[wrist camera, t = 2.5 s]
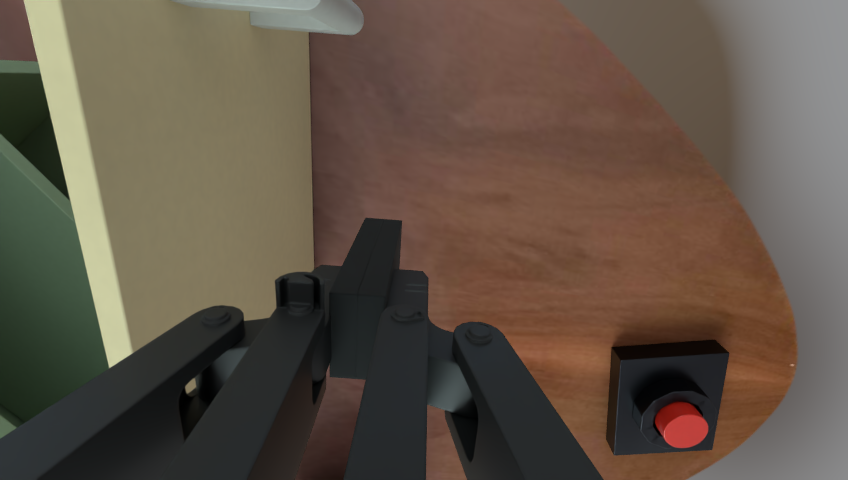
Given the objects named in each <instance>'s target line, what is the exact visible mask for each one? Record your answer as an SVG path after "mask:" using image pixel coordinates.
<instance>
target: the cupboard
mask: <svg viewBox="0 0 848 480" xmlns="http://www.w3.org/2000/svg"><path fill="white" fill-rule="evenodd" d="M107 369H109V365H108V361H107V356H106V352H105V348H104V343H103V339H102V335H101V330H100V326H99V322H98V317H97V313H96V309H95V305H94V300H93V296H92V292H91V287H90V283H89V279H88V274H87V270H86V266H85V262H84V257H83V253H82V249H81V244H80V240H79V236H78V231H77V227H76V223H75V219H74V214H73V210H72V206H71V201H70V197H69V193H68V188H67V184H66V180H65V176H64V171H63V167H62V163H61V158H60V154H59V150H58V145H57V141H56V137H55V133H54V128H53V124H52V120H51V115H50V111H49V107H48V102H47V98H46V94H45V89H44V85H43V81H42V77H41V72H40V68H39V64H38V62H33V61H12V60H0V438H2V437H4V436H5V435H7V434H8V433H10V432H11V431H13V430H14V429H16V428H17V427H19V426H21V425H22V424H24V423H25V422H27V421H28V420H30V419H31V418H33V417H35V416H36V415H38V414H39V413H41V412H42V411H44V410H45V409H47V408H48V407H50V406H52V405H53V404H55V403H56V402H58V401H59V400H61V399H62V398H64V397H66V396H67V395H69V394H70V393H72V392H73V391H75V390H76V389H78V388H79V387H81V386H83V385H84V384H86V383H87V382H89V381H90V380H92V379H93V378H95V377H97V376H98V375H100V374H101V373H103V372H104V371H106V370H107Z"/></svg>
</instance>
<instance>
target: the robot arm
mask: <svg viewBox="0 0 848 480" xmlns="http://www.w3.org/2000/svg"><path fill="white" fill-rule="evenodd" d="M401 228H402V221H401V220H387V219H374V218H365V220H364V222H363V224H362V226H361V228H360V230H359V232H358V234H357V236H356V238H355V241H354V243H353V245H352V247H351V249H350V251H349V253H348V255H347V257H346V259H345V261H344V263H343V265H342V266H330V265H321V266H319V267H318V268H316V269H314V270H313V271H312V272H293V273H287V274H285V275H282V276H280V277H278V278H277V279H276V280H275V291H276V309H275V310H274V312H273V313H272V315H271V316H270V317H269V318H264V319H256V320H247V321H244V313H243V312H242V311H241V310H240V309H239V308H236V307H233V306H225V305H219V306H218V305H217V306H212V307H209V308H206V309H202V310H200V311H198V312H196V313H194V314H193V315H191V316H190V317H188V318H186V319H185V320H183V321H182V322H180V323H179V324H177V325H176V326H174V327H172V328H171V329H169V330H168V331H166V332H165V333H163V334H162V335H160V336H159V337H157V338H155V339H154V340H152V341H151V342H149V343H148V344H146V345H145V346H143V347H141V348H140V349H138V350H137V351H135V352H134V353H132V354H131V355H129V356H128V357H126V358H124V359H123V360H121V361H120V362H118V363H117V364H115V365H114V366H112V367H110V368H109V369H107V370H106V371H104V372H103V373H101V374H100V375H98V376H97V377H95V378H93V379H92V380H90V381H89V382H87V383H86V384H84V385H83V386H81V387H79V388H78V389H76V390H75V391H73V392H72V393H70V394H69V395H67V396H66V397H64V398H62V399H61V400H59V401H58V402H56V403H55V404H53V405H52V406H50V407H48V408H47V409H45V410H44V411H42V412H41V413H39V414H38V415H36V416H35V417H33V418H31V419H30V420H28V421H27V422H25V423H24V424H22V425H21V426H19V427H17V428H16V429H14V430H13V431H11V432H10V433H8V434H7V435H5V436H4V437H2V438H0V480H295V477H296V475H297V472H298V469H299V466H300V463H301V460H302V457H303V454H304V451H305V448H306V445H307V442H308V439H309V436H310V434H311V431H312V428H313V425H314V422H315V419H316V416H317V413H318V410H319V407H320V404H321V401H322V398H323V396H324V393H325V390H326V371H327V369H328V366H329V363H330V377H338V378H352V379H366V382H365V386H364V391H363V395H362V400H361V404H360V409H359V413H358V417H357V422H356V426H355V431H354V435H353V440H352V444H351V448H350V453H349V457H348V462H347V466H346V471H345V475H344V479H343V480H426V437H427V404H428V405H431V406H434V407H437V408H440V409H443V410H445V419H446V421H447V424H448V427H449V430H450V433H451V435H452V438H453V441H454V444H455V447H456V450H457V452H458V455H459V458H460V461H461V464H462V466H463V469H464V472H465V475H466V478H467V480H603V478H602V477H601V475H600V474H599V472H598V471H597V469H596V468H595V467H594V465H593V464H592V462H591V461H590V459H589V458H588V456H587V455H586V454H585V452H584V451H583V449H582V448H581V446H580V445H579V443H578V442H577V440H576V439H575V438H574V436H573V435H572V433H571V432H570V430H569V429H568V427H567V426H566V425H565V423H564V422H563V420H562V419H561V417H560V416H559V414H558V413H557V412H556V410H555V409H554V407H553V406H552V404H551V403H550V401H549V400H548V399H547V397H546V396H545V394H544V393H543V391H542V390H541V388H540V387H539V385H538V384H537V383H536V381H535V380H534V378H533V377H532V375H531V374H530V372H529V371H528V370H527V368H526V367H525V365H524V364H523V362H522V361H521V359H520V358H519V357H518V355H517V354H516V352H515V351H514V349H513V348H512V346H511V345H510V343H509V342H508V341H507V339H506V338H505V336H504V335H503V334H502V333H501V332H500V331H499V330H498V329H497V328H495V327H493V326H491V325H489V324H486V323H482V322H468V323H463V324H461V325H459V326H457V327H456V329H455V330H454V333H453V332H449V331H446V330H443V329H440V328H439V327H437V326H435V325H434V324H433V323H431V321H430V320H429V317H428V277H427V276H426V275H425V273H424V272H423V271H414V270H400V269H399V264H400V246H401ZM194 378H195V383H196V388H194V389H193V390H192V391H191V392H189V393H186V389H185V386H186V385H187V384H188V383H189V382H190V381H191V380H192V379H194Z"/></svg>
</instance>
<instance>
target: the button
mask: <svg viewBox="0 0 848 480" xmlns="http://www.w3.org/2000/svg"><path fill="white" fill-rule="evenodd" d="M655 424H656V427H657V428H658V430H659V431H660V433H661V435H662V436H663V438H664V439H665V441H666V442H667V443H668V444H669V445H671V446H673V447H677V448H687V447H691V446H694V445H696V444H698V443H700V442H701V441H702V440H703V439H704V438H705V437H706V435H707V433H708V424H707V422H706V420H705V419H704V418H703V417H702V415H701V414H700V413H699V412H698V410H697V409H696V408H695V407H694V406H693V405H692V404H690V403H687V402H673V403H671V404H669V405H667V406H665V407H663V408H661V409H660V411H659V412H658V413H657V415H656V417H655Z"/></svg>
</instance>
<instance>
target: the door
mask: <svg viewBox="0 0 848 480" xmlns="http://www.w3.org/2000/svg"><path fill="white" fill-rule="evenodd" d="M24 3H25V8H26V12H27V16H28V21H29V25H30V29H31V34H32V38H33V42H34V46H35V51H36V55H37V59H38V64H39V68H40V72H41V77H42V81H43V85H44V89H45V94H46V98H47V102H48V107H49V111H50V115H51V120H52V124H53V128H54V133H55V137H56V141H57V145H58V150H59V154H60V158H61V163H62V167H63V171H64V176H65V180H66V184H67V188H68V193H69V197H70V201H71V206H72V210H73V214H74V219H75V223H76V227H77V231H78V236H79V240H80V244H81V249H82V253H83V257H84V262H85V266H86V270H87V274H88V279H89V283H90V287H91V292H92V296H93V300H94V305H95V309H96V313H97V317H98V322H99V326H100V330H101V335H102V339H103V343H104V348H105V352H106V356H107V361H108V365H109V368H110V367H112V366H114V365H115V364H117V363H118V362H120V361H121V360H123V359H124V358H126V357H128V356H129V355H131V354H132V353H134V352H135V351H137V350H138V349H140V348H141V347H143V346H145V345H146V344H148V343H149V342H151V341H152V340H154V339H155V338H157V337H159V336H160V335H162V334H163V333H165V332H166V331H168V330H169V329H171V328H172V327H174V326H176V325H177V324H179V323H180V322H182V321H183V320H185V319H186V318H188V317H190V316H191V315H193V314H194V313H196V312H198V311H200V310H202V309H206V308H209V307H212V306H217V305H218V306H219V305H225V306H233V307H236V308H239V309H240V310H241V311H242V312H243V313H244V321H247V320H256V319H264V318H269V317H270V316H271V315H272V313H273V312H274V310H275V309H276V291H275V280H276V279H277V278H278V277H280V276H282V275H285V274H287V273H293V272H312V271H313V270H314V240H313V196H312V152H311V109H310V65H309V32H317V33H330V34H343V35H354V34H356V33H358V32H359V31H360V30H361V29H362V27H363V23H364V16H363V13H362V11H361V9H360V8H359V7H358V6H357V5H356V4H355V3H354V2H353V1H352V0H24ZM194 388H196V383H195V378H194V379H192V380H191V381H190V382H189V383H188V384H187V385H186V386H185V389H186V393H189V392H191V391H192V390H193V389H194Z"/></svg>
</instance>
